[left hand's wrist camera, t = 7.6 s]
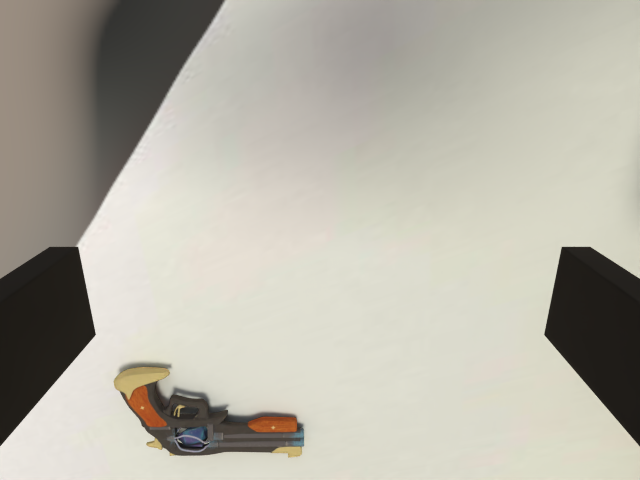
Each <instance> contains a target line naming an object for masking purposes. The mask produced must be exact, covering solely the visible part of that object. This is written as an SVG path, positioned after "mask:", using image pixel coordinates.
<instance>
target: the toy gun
mask: <svg viewBox="0 0 640 480" xmlns="http://www.w3.org/2000/svg"><path fill="white" fill-rule="evenodd" d="M169 374H170V372H169V370H167V369H165V368H156V367H137V368H131V369H127V370H125V371H123V372H121V373H120V374H119V375H118V376H117V377H116V378H115V380H114V386H115V388H116V389H117V390H119V391H120V393H121V395H122V397H123V398H124V400H125V402H126V403H127V405H128V406H129V408H130V409H131V410H132V411H133V412H134V414H135V415H136V416H137V417H138V418H139V419H140V421H141V424H142V426H143V427H145V429H146V431H147V432H148V433H150V434H151V435H152V436H154V437H155V441H151V442H147V444H146V445H147V446H149V447H154V448H158V449H160V450H162V448H165V449H167V450H168V451H169V452H170V456H172V455H181V456H188V455H210V454H217V453H222V452H271V453H288V458H289V457H295V456H300V455H301V454H302V447H301V446H304V430H303V429H301V427H297V419H296V418H294V417H260V418H257V419H254V420H252V421H249V422H247V423H235V422H227V421H223V420H224V419H225V418H226V417H227V413H228V410H224V411H221V412H217V413H209V412H208V404H207V402H206V401H205V400H204V399H192V398H186V397H182V396H179V395H175V394H173V395H172V396H171V398H170V403H169V406H167V407H165V406H163V404H162V403H161V401H160V400H159V398H158V396H157V394H156V390H155V389H156V382H157V381H158V380H161V379H163V378H165V377H167V376H168V375H169ZM174 404H179V405H178V406H177V407H176V409H175V411H174V412H173V411H172V406H173V405H174ZM185 406H188V407H197V408H198V409H199V411H198V412H197V413H196V414H180V409H181V408H184V407H185ZM177 409H178V413H176V410H177ZM206 426H208V429H207V427H206ZM184 427H189V428H188V429H186V430H185V431H183V432H182V433H180V434H179V432H178V431H179V430H180V429H181V428H184ZM177 428H179V429H178V430H177ZM177 434H178V435H177ZM177 439H179V440H180V441H181V442H182V443H180V442H178V441H177ZM207 439H208V441H206V440H207ZM207 442H209V443H207ZM204 443H207V444H204Z"/></svg>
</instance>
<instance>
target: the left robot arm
mask: <svg viewBox="0 0 640 480" xmlns="http://www.w3.org/2000/svg"><path fill="white" fill-rule="evenodd" d="M95 335H96V334H95V329H94V324H93V319H92V314H91V309H90V304H89V299H88V294H87V289H86V284H85V279H84V274H83V269H82V264H81V259H80V254H79V249H78V247H49V248H48V249H46V250H44V251H43V252H41V253H40V254H38V255H37V256H35V257H34V258H32V259H30V260H29V261H27V262H26V263H24V264H23V265H21V266H20V267H18V268H16V269H15V270H13V271H12V272H10V273H9V274H7V275H6V276H4V277H2V278H1V279H0V446H1V445H2V444H3V442H4V441H5V440H6V439H7V438H8V437H9V435H10V434H11V433H12V432H13V431H14V430H15V428H16V427H17V426H18V425H19V424H20V423H21V421H22V420H23V419H24V418H25V417H26V416H27V414H28V413H29V412H30V411H31V410H32V409H33V407H34V406H35V405H36V404H37V403H38V402H39V400H40V399H41V398H42V397H43V396H44V395H45V393H46V392H47V391H48V390H49V389H50V388H51V386H52V385H53V384H54V383H55V382H56V381H57V379H58V378H59V377H60V376H61V375H62V374H63V372H64V371H65V370H66V369H67V368H68V367H69V365H70V364H71V363H72V362H73V361H74V360H75V358H76V357H77V356H78V355H79V354H80V353H81V351H82V350H83V349H84V348H85V347H86V346H87V344H88V343H89V342H90V341H91V340H92V339H93V337H94V336H95ZM544 335H545V336H546V337H547V339H548V340H549V341H550V342H551V343H552V344H553V346H554V347H555V348H556V349H557V350H558V351H559V353H560V354H561V355H562V356H563V357H564V358H565V360H566V361H567V362H568V363H569V364H570V365H571V367H572V368H573V369H574V370H575V371H576V372H577V374H578V375H579V376H580V377H581V378H582V379H583V381H584V382H585V383H586V384H587V385H588V386H589V388H590V389H591V390H592V391H593V392H594V393H595V395H596V396H597V397H598V398H599V399H600V400H601V402H602V403H603V404H604V405H605V406H606V407H607V409H608V410H609V411H610V412H611V413H612V414H613V416H614V417H615V418H616V419H617V420H618V421H619V423H620V424H621V425H622V426H623V427H624V428H625V430H626V431H627V432H628V433H629V434H630V435H631V437H632V438H633V439H634V440H635V441H636V442H637V444H638V445H639V446H640V279H639V278H638V277H636V276H634V275H633V274H631V273H630V272H628V271H627V270H625V269H624V268H622V267H620V266H619V265H617V264H616V263H614V262H613V261H611V260H610V259H608V258H606V257H605V256H603V255H602V254H600V253H599V252H597V251H596V250H594V249H593V248H591V247H562V249H561V254H560V259H559V264H558V269H557V274H556V279H555V284H554V289H553V294H552V299H551V304H550V309H549V314H548V319H547V324H546V329H545V334H544Z"/></svg>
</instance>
